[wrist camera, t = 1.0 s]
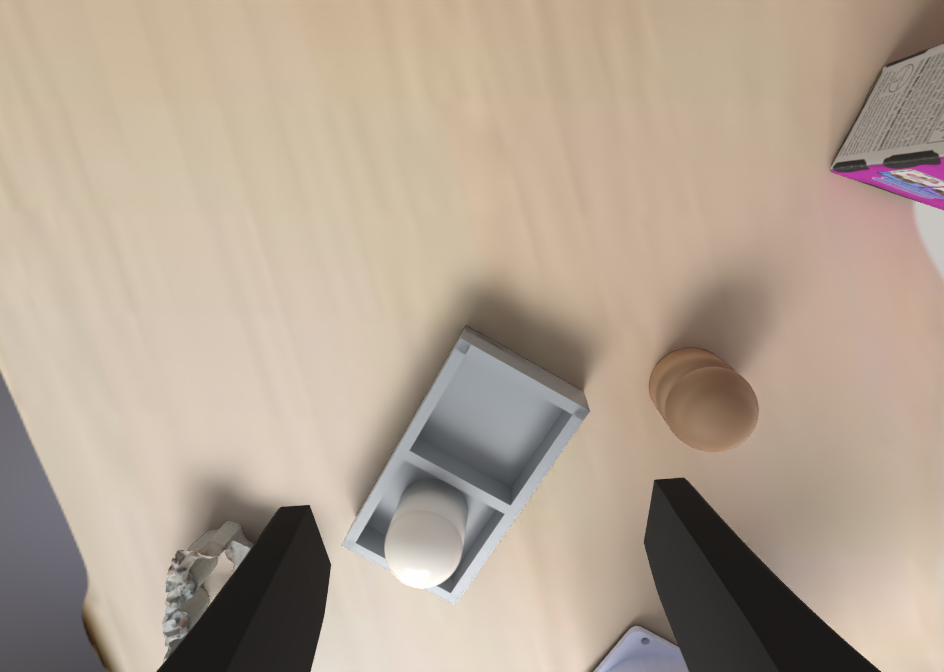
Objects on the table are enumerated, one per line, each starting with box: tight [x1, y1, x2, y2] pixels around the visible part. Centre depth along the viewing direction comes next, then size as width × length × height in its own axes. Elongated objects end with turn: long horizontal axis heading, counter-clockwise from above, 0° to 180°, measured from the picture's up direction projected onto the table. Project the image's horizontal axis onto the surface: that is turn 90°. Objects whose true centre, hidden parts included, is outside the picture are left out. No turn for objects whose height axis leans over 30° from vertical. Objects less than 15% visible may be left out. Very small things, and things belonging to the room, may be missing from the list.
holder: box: [341, 326, 590, 605], centre depth 27 cm, size 7×14×2 cm, turn 151°
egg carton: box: [162, 520, 254, 663], centre depth 31 cm, size 11×8×4 cm
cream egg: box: [384, 479, 468, 588], centre depth 26 cm, size 4×4×5 cm
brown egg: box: [649, 348, 759, 452], centre depth 24 cm, size 4×4×5 cm
